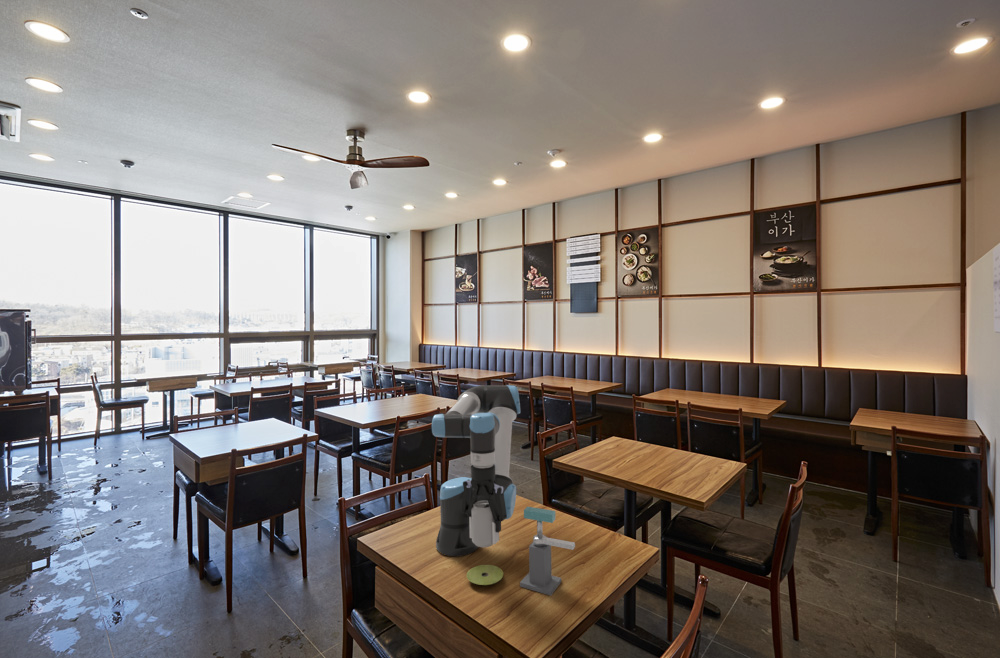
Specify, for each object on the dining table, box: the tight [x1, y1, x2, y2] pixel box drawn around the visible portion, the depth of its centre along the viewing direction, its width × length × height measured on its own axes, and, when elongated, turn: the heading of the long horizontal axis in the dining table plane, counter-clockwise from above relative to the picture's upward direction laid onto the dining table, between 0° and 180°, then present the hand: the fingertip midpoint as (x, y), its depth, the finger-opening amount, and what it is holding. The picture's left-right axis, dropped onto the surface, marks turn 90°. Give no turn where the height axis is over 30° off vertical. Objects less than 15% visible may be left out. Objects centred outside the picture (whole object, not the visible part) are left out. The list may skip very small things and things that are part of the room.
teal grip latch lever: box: [523, 506, 576, 551], centre depth 134 cm, size 4×15×10 cm, turn 65°
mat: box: [466, 564, 504, 586], centre depth 138 cm, size 11×11×2 cm
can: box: [471, 501, 494, 548], centre depth 138 cm, size 8×8×12 cm
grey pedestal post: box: [519, 542, 562, 596], centre depth 135 cm, size 10×8×12 cm
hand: (484, 539), depth 138 cm, fingers closed on can, 7 cm apart
